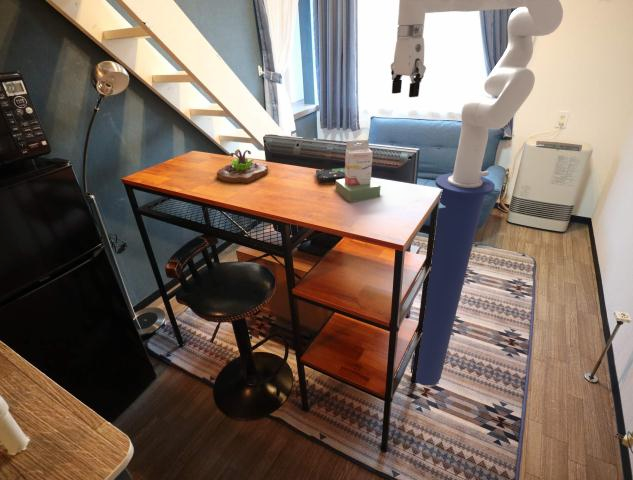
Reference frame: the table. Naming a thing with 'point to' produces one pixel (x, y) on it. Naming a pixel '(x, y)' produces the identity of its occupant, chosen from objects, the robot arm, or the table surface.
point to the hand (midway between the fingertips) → (404, 95)
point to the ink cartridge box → (358, 163)
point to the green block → (357, 190)
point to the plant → (242, 170)
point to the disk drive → (330, 175)
